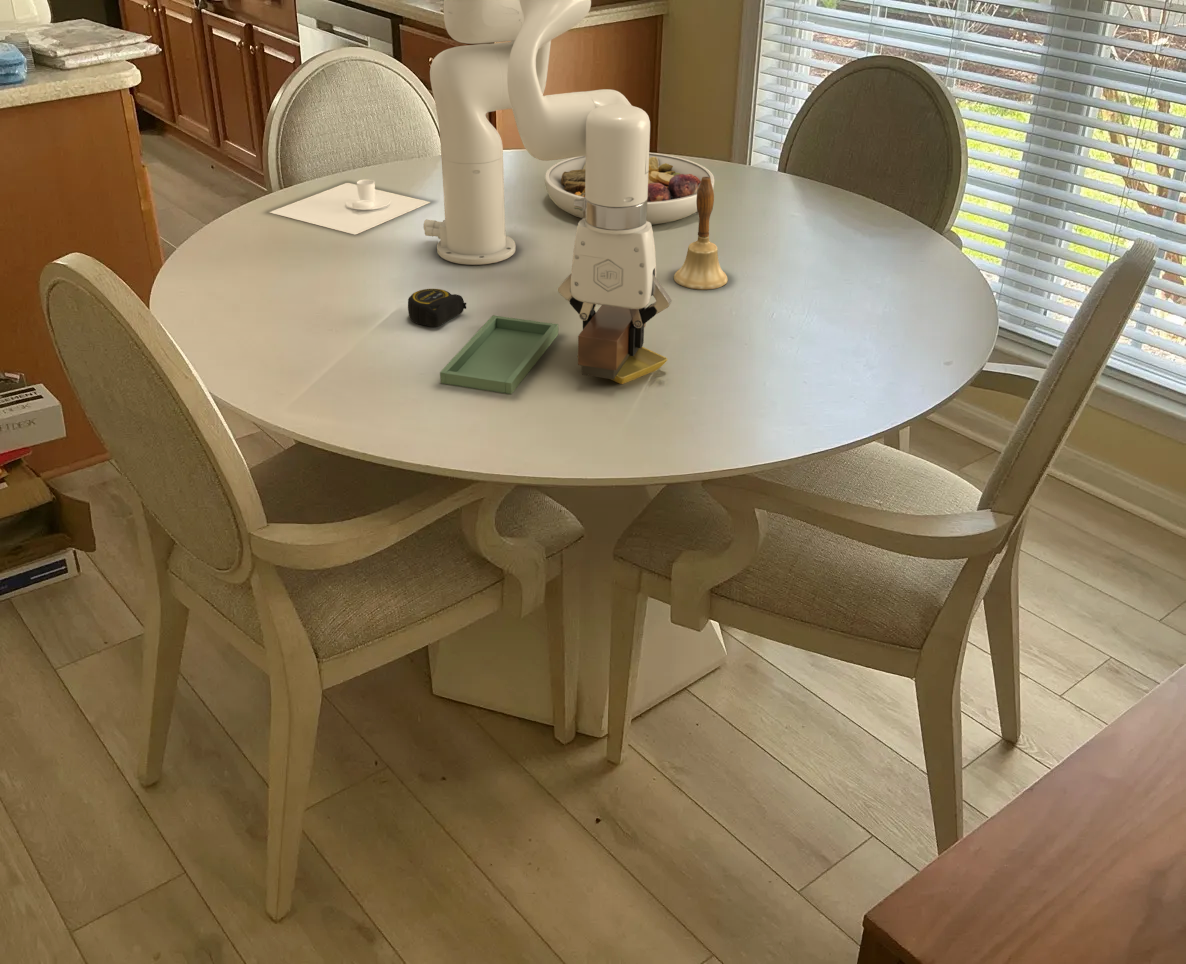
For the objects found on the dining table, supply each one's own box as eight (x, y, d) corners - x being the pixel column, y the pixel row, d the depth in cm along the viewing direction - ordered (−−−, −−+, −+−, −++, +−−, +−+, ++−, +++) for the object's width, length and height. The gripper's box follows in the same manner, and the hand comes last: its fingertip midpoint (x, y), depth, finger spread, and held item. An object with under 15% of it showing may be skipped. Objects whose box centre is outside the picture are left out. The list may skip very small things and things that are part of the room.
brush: (577, 375, 145) (578, 335, 142) (609, 331, 157) (610, 293, 154) (615, 381, 144) (617, 341, 141) (645, 336, 155) (646, 298, 152)
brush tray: (440, 386, 147) (439, 372, 146) (493, 328, 162) (492, 314, 161) (511, 397, 145) (511, 383, 144) (558, 337, 160) (558, 323, 159)
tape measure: (436, 335, 160) (435, 310, 158) (398, 323, 163) (396, 298, 161) (467, 318, 165) (466, 293, 163) (430, 307, 168) (428, 283, 166)
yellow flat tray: (622, 350, 156) (623, 336, 155) (668, 372, 151) (669, 357, 150) (575, 369, 151) (575, 355, 150) (621, 392, 146) (621, 378, 145)
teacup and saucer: (367, 216, 200) (364, 193, 198) (332, 208, 204) (330, 185, 202) (400, 202, 207) (398, 180, 204) (366, 194, 210) (364, 172, 208)
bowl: (510, 204, 206) (509, 161, 202) (617, 167, 226) (618, 126, 222) (642, 245, 190) (643, 198, 186) (745, 201, 210) (748, 158, 205)
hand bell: (724, 292, 174) (732, 188, 165) (670, 287, 175) (675, 183, 167) (730, 271, 181) (738, 170, 172) (677, 267, 182) (683, 166, 174)
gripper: (539, 214, 139) (541, 351, 149) (677, 230, 135) (669, 370, 145) (559, 195, 145) (559, 328, 155) (691, 210, 141) (683, 345, 151)
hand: (612, 347), depth 150 cm, fingers closed on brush, 5 cm apart
